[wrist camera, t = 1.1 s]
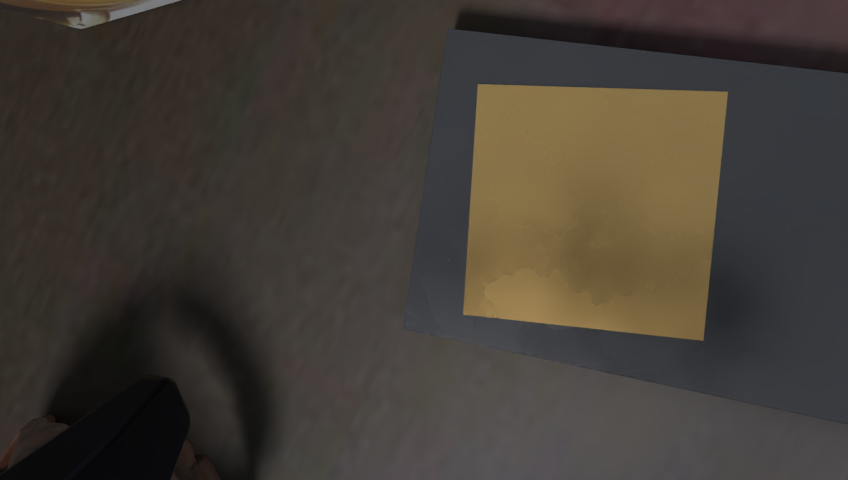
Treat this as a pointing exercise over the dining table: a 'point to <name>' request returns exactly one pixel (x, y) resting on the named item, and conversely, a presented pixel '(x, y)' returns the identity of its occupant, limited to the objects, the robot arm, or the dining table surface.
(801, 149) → the grey flat plate
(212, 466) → the brown ring holder
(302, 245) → the dining table surface
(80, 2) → the coffee box
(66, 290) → the dining table surface
